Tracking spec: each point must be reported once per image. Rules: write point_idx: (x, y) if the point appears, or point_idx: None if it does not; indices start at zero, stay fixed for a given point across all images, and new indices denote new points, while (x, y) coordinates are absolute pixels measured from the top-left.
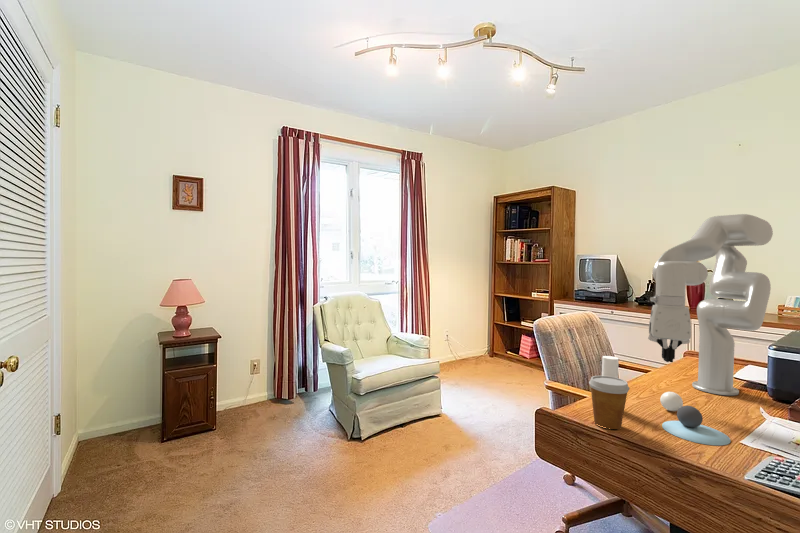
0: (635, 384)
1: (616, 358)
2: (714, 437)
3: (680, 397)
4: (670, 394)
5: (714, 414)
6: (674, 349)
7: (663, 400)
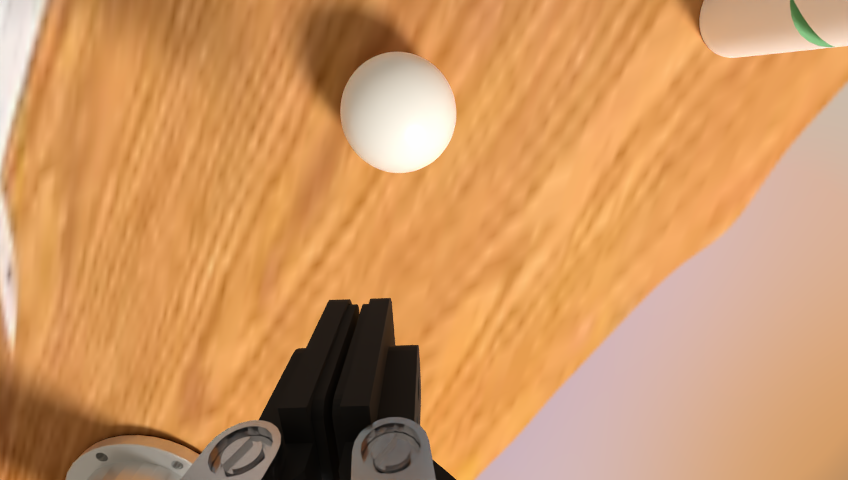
0: (466, 452)
1: None
2: None
3: (350, 96)
4: (409, 85)
5: (206, 146)
6: (255, 440)
7: (448, 85)
